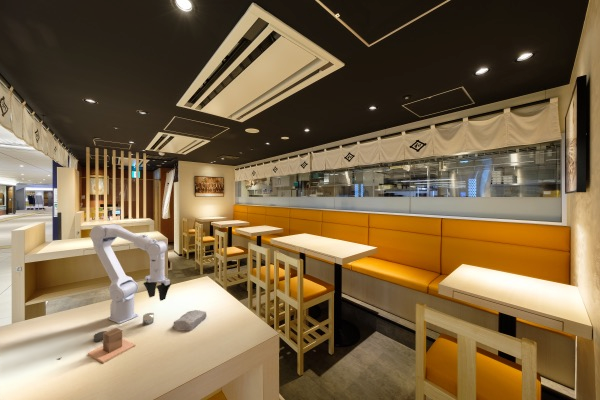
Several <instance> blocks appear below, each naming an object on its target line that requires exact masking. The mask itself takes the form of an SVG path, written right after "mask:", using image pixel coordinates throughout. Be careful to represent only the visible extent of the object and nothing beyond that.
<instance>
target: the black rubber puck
mask: <svg viewBox="0 0 600 400" xmlns="http://www.w3.org/2000/svg"><path fill="white" fill-rule="evenodd" d="M107 331H108V330H107ZM107 331H106V330H104V331H98V332H97V333H95V334H94V335H93V341H94V342H95V343H101V342H103V333H105V332H107Z"/></svg>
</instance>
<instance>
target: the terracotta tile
mask: <svg viewBox="0 0 600 400" xmlns="http://www.w3.org/2000/svg"><path fill="white" fill-rule="evenodd" d="M136 346H137V345H136V344H135V343H133V342H130V341H129V340H126V339H125V338H122V347H121V348H119V349H117V350H115V351H113V352H111V353H108V352H106V351H104V350H103V345H101V346H100V347H97V348H95V349H93V350H90V351H89V352H87V355H88V356H89V357H91V358H92V359H95V360H97V361H98V362H100V363H102V364H104V363H107V362H109V361H110V360H112V359H114V358H116V357H118V356H119V355H122V354H123V353H125V352H128V351H129V350H131V349H133V348H135V347H136Z"/></svg>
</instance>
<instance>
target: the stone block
mask: <svg viewBox="0 0 600 400" xmlns="http://www.w3.org/2000/svg"><path fill="white" fill-rule="evenodd" d="M206 318H207V311H205V310H199V309H194V310H189V311H187V312H185V313H184V314H182V315H181V316H180V317H179V318H177V320H175V321H174V322H173V328H174V330H178V331H193V330H194V329H196V327H198V325H200V324H201V323H202V322H203V321H204V320H205V319H206Z"/></svg>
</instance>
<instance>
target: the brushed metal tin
mask: <svg viewBox="0 0 600 400" xmlns="http://www.w3.org/2000/svg"><path fill="white" fill-rule="evenodd" d="M154 319H155V313H154V312H149V313H145V314H143V315H142V326H149V325H153V324H154Z"/></svg>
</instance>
